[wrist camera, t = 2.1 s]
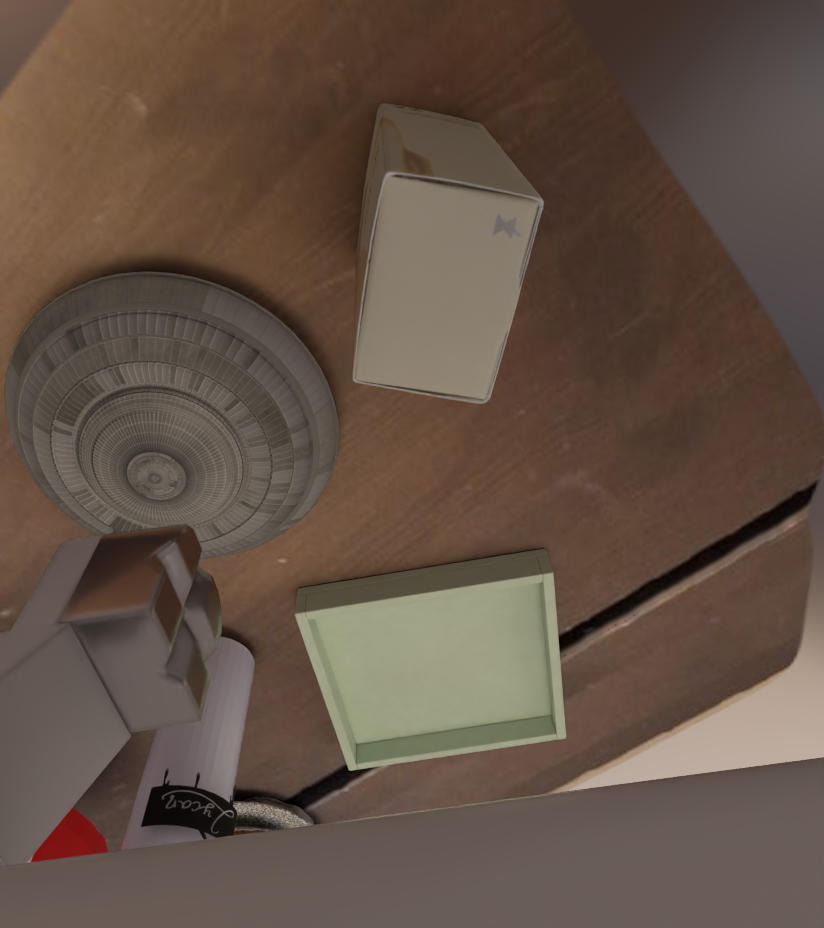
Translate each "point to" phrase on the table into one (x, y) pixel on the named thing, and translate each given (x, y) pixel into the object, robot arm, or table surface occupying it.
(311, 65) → the table surface
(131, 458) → the flying saucer
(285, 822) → the grey speckled shallow bowl
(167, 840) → the perfume bottle
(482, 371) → the cosmetic box
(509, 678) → the tray
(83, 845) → the decorative mushroom
